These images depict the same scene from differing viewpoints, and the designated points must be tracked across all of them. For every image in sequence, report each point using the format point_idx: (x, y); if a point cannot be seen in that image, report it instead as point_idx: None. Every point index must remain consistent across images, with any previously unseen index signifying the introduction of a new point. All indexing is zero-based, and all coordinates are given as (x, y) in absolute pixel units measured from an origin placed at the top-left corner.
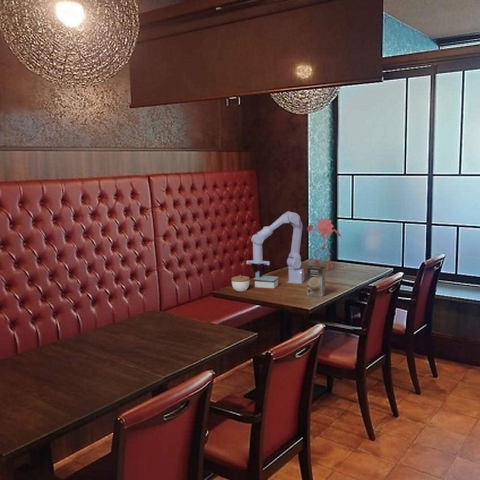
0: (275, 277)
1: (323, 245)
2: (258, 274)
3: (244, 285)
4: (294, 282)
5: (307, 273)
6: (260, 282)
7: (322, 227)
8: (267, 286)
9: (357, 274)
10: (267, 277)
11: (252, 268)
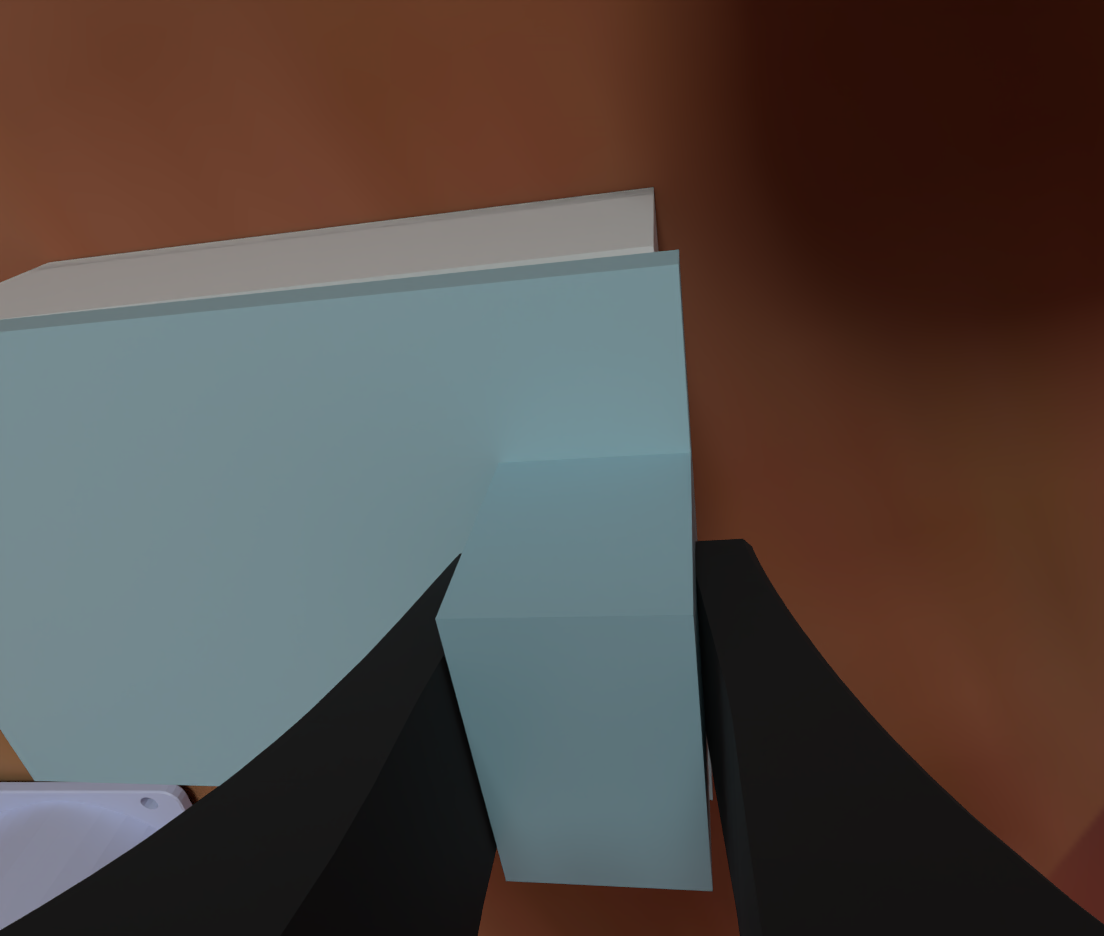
0: (42, 699)
1: None
2: (503, 554)
3: None
4: (24, 810)
5: None
6: (401, 269)
7: None
8: (194, 258)
9: None
10: (243, 617)
11: (1033, 874)
